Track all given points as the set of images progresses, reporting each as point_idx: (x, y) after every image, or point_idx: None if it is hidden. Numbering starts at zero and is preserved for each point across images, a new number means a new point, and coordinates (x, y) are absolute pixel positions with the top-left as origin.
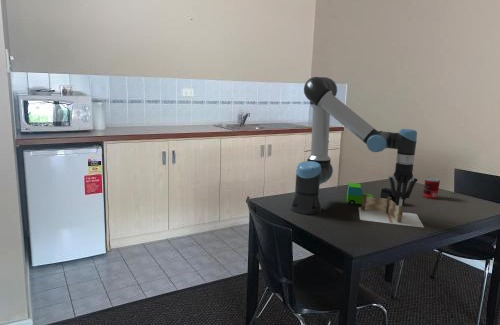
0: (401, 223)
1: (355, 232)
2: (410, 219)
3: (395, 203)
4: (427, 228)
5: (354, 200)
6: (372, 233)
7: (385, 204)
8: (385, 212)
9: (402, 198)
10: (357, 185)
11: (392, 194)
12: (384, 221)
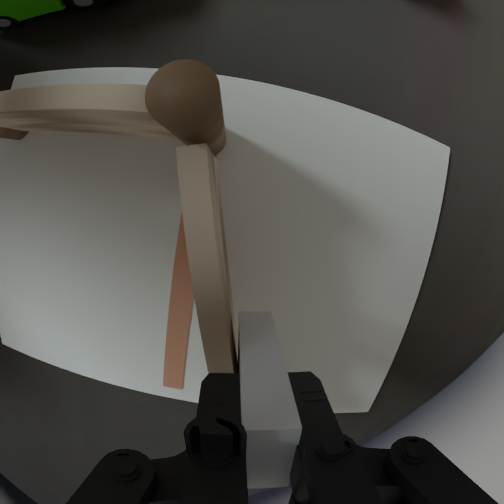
0: None
1: (25, 447)
2: (358, 292)
3: (203, 382)
4: (387, 396)
5: (2, 14)
6: (77, 465)
7: (152, 126)
8: None
9: (295, 481)
10: None
11: (102, 480)
12: (126, 368)
